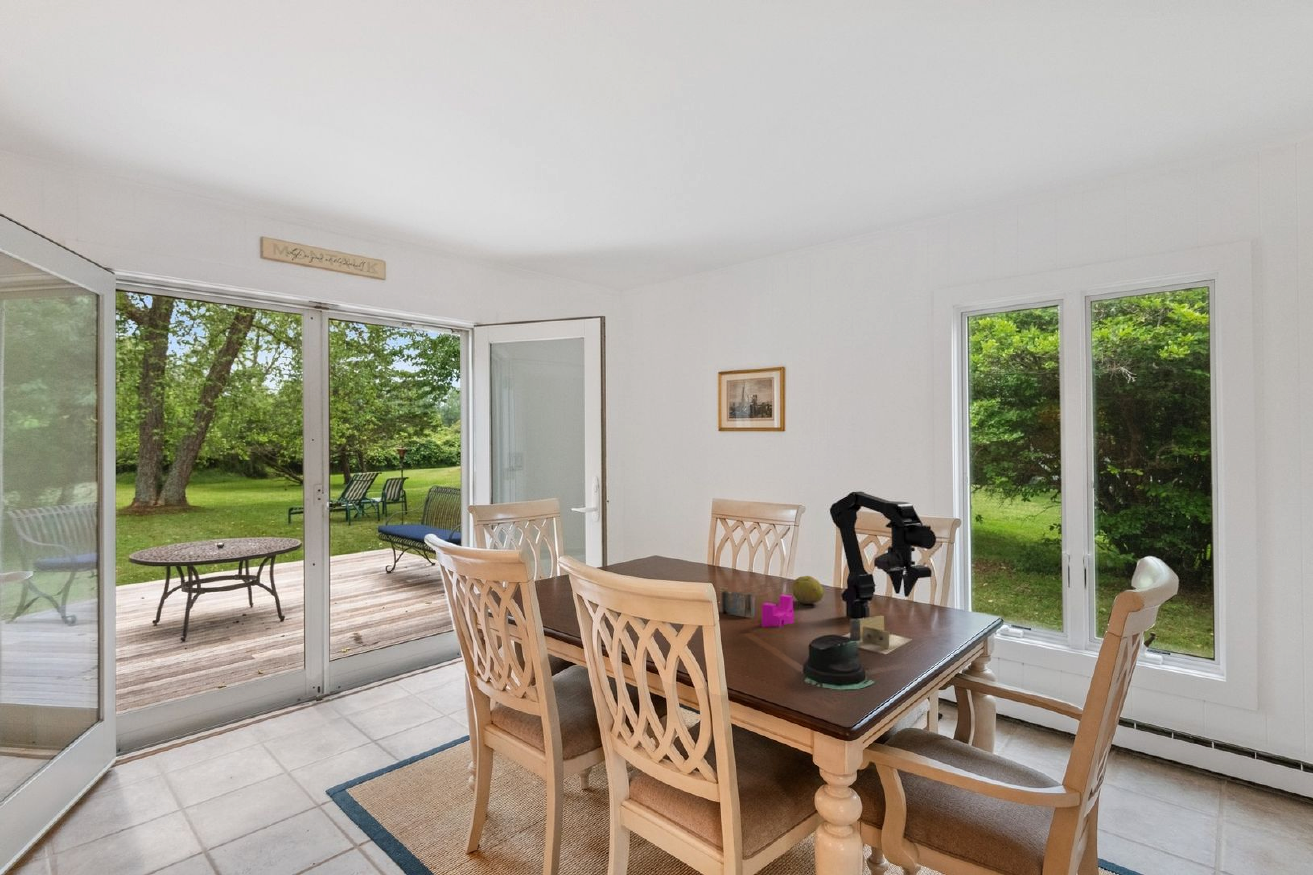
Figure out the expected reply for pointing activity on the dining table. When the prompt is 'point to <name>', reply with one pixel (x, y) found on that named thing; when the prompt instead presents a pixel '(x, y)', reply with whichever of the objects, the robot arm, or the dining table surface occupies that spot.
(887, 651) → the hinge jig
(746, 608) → the ruin model on sheet
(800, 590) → the fruit
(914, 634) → the dining table surface
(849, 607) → the robot arm
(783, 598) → the toy block
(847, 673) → the dark green hat
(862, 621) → the brass leaf
